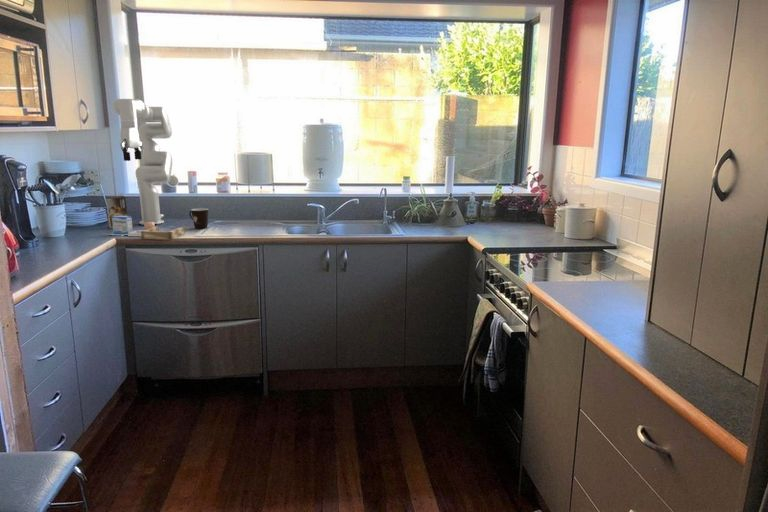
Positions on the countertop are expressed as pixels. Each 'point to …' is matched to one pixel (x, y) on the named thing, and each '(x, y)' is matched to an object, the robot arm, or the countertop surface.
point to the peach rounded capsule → (149, 225)
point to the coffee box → (116, 208)
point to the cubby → (161, 233)
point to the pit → (135, 233)
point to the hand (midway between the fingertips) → (132, 160)
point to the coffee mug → (200, 217)
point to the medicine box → (122, 224)
